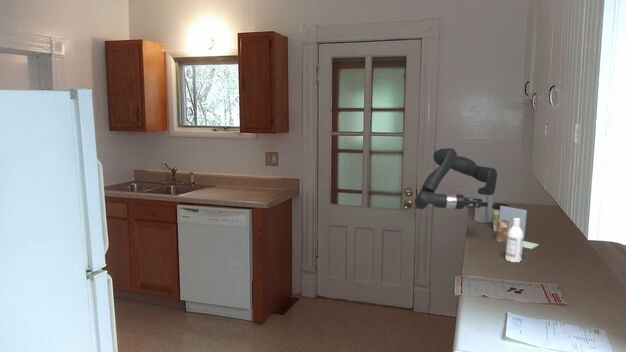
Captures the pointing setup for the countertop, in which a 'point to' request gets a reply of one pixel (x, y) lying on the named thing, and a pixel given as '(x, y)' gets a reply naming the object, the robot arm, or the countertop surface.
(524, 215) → the screen
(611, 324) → the countertop surface
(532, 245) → the mat
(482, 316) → the countertop surface
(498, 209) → the coffee cup
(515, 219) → the bath foam
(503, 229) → the brown wooden block
